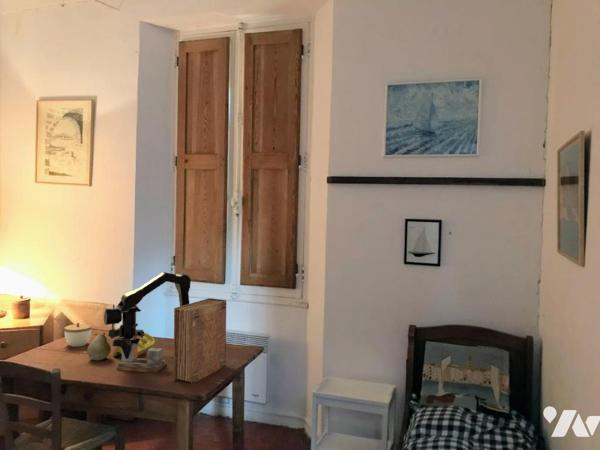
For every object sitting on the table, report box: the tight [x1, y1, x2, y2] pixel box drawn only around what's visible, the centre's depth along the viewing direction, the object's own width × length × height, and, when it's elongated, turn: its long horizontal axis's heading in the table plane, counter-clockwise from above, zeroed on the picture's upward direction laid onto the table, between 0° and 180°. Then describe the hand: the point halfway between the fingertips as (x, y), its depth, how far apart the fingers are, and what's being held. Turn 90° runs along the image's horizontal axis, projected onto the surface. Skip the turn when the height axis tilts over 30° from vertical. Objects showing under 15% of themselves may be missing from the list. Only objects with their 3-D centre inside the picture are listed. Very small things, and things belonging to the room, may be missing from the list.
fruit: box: [86, 331, 112, 361], centre depth 242 cm, size 10×9×12 cm
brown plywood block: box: [172, 298, 227, 384], centre depth 226 cm, size 25×9×30 cm, turn 156°
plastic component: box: [112, 332, 156, 357], centre depth 254 cm, size 20×7×10 cm
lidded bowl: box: [63, 322, 92, 348], centre depth 265 cm, size 13×13×11 cm
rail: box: [116, 347, 167, 374], centre depth 232 cm, size 18×11×8 cm, turn 82°
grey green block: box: [121, 343, 139, 362], centre depth 233 cm, size 6×4×7 cm
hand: (129, 357), depth 233 cm, fingers closed on grey green block, 4 cm apart
